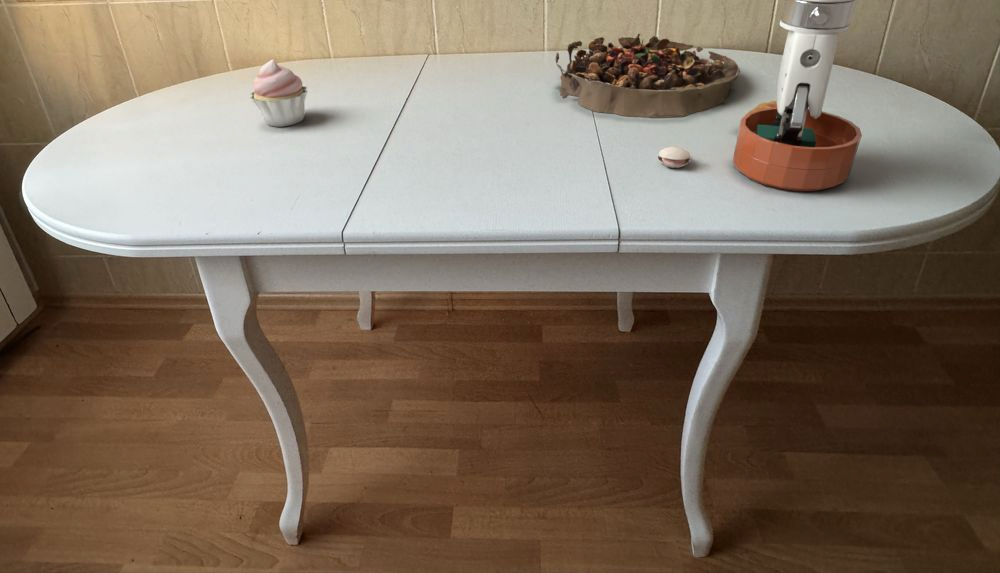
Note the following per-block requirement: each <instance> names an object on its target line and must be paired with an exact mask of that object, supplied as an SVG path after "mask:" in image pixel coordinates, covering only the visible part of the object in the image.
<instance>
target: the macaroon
mask: <svg viewBox="0 0 1000 573" xmlns="http://www.w3.org/2000/svg"><path fill="white" fill-rule="evenodd" d="M657 160H658V162H659V163H660V164H662V165H663V166H665V167H666V168H672V169H675V168H678V169H679V168H681V167H684V166H687V165H689V163H690V161H691V153H690V151H689V150H686V149H685V148H683V147H679V146H667V147H665V148H662V149H661V150H660V151H659V153H658V156H657Z"/></svg>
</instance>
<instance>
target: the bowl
mask: <svg viewBox="0 0 1000 573" xmlns="http://www.w3.org/2000/svg"><path fill="white" fill-rule="evenodd" d="M777 111H778V110H777V107H775V108H766V109H759V110H755V111H753V112H750V111H749V112H750V113H748V112H747V113H746V114H744V116H743V117H741V119H740V122H739V128H738V131H737V132H738V133H737V136H736V141H735V147H734V152H733V165H734V166H735V168H736V169H737V170H738V171H739V172H740V173H741V174H743V175H744V176H745V177H747V178H748V179H750V180H752V181H754V182H756V183H758V184H761V185H764V186H767V187H770V188H775V189H779V190H786V191H793V192H815V191H816V192H817V191H821V190H822V191H823V190H826V189H830V188H833V187H836V186H838V185H841V184H842V183H845V182H846V181H847V179H848V177H849V176H850V174H851V171H852V169H853V168H852V167H853V165H854V161H855V159H856V155H857V152H858V149H859V146H860V143H861V140H862V136H863V134H862V131H861V129H860V127H859V126H857V125H856V124H855V123H854V122H852V121H850V120H848V119H846V118H844V117H842V116H840V115H836V114H833V113H830V112H826V111H823V110H822V111H821V115H820V116H819V117H818V118H816V119H814V118H813V116H810V112H809V108H808V111H807V115H806V120H805V124H804V128H806V129H814V134H815V139H816V144H815V147H803V146H793V145H788V144H783V143H778V142H774V141H771V140H768V139H766V138H763V137H760V136H758V135H757V134H756V130H757V125H758V124H759V125H771V126H773V123H774V121H776V115H777ZM778 122H780V121H778Z"/></svg>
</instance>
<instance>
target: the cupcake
mask: <svg viewBox="0 0 1000 573" xmlns="http://www.w3.org/2000/svg"><path fill="white" fill-rule="evenodd" d="M307 95H308V87H307V86H303V81H302V79H301V77H300V76H298V75H296V74H295V73H294V72H293V71H292V70H291V69H290V68H287V67H285V66H282V65H279V64H278V63H277V61H275V60H274V59H271V60H269V61H267V62H266V63H264V64H263V65H262V66H261V68H260V70H259V72H258V75H257V76H256V77H255V78H254V81H253V91H252V92H251V93H250V97H249V99H250V100H251V101H252V102H253V104H254V105H255V106H256V107H257V110H258V111H259V113H260V114H261V116H262V118H263V120H264V122H265V123H266V125H268V126H270V127H276V128H277V127H290V126H293V125H296V124H299V123H300V122H302V121H304V118H305V112H306V110H305V102H306V98H307Z"/></svg>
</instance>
